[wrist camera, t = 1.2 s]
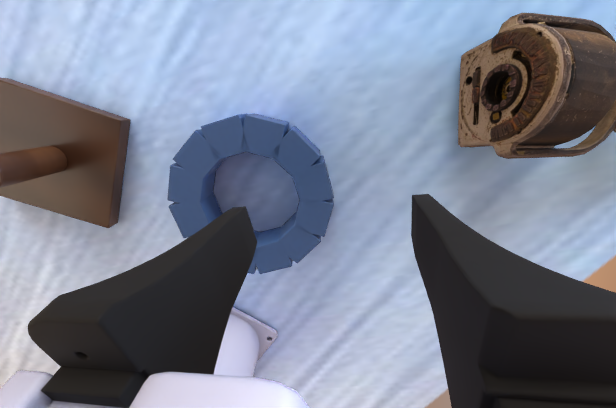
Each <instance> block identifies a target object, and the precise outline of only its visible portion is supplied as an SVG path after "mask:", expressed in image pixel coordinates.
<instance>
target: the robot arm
mask: <svg viewBox="0 0 616 408" xmlns="http://www.w3.org/2000/svg"><path fill="white" fill-rule="evenodd" d="M411 236H412V242H413V248H414V253H415V257H416V261H417V264H418V267H419V270H420V273H421V276H422V279H423V282H424V285H425V288H426V291H427V294H428V297H429V300H430V304H431V307H432V311H433V314H434V319H435V324H436V328H437V333H438V338H439V343H440V348H441V353H442V358H443V363H444V368H445V373H446V379H447V384H448V389H449V395H450V400H451V406H452V408H616V293H614V292H611V291H608V290H605V289H602V288H599V287H595V286H593V285H590V284H587V283H584V282H581V281H578V280H575V279H572V278H570V277H567V276H565V275H562V274H559V273H557V272H554V271H552V270H549V269H547V268H544V267H542V266H540V265H537V264H535V263H533V262H531V261H529V260H526V259H524V258H522V257H520V256H518V255H516V254H514V253H512V252H510V251H508V250H506V249H504V248H502V247H501V246H499V245H497V244H495V243H494V242H492V241H490V240H488V239H487V238H485V237H483V236H482V235H480V234H479V233H477V232H476V231H474V230H473V229H471V228H470V227H468V226H467V225H466V224H464V223H463V222H462V221H460V220H459V219H458V218H456V217H455V216H454V215H452V214H451V213H450V212H449V211H448V210H446V209H445V208H444V207H443V206H442V205H441V204H439V203H438V202H437V201H436V200H435V199H434V198H433V197H431V196H430V195H429V194H422V195H412V229H411ZM256 245H257V239H256V236H255V233H254V230H253V227H252V224H251V221H250V218H249V215H248V212H247V209H246V207H234V208H232V209H230V210H228V211H227V212H225V213H224V214H222V215H221V216H219V217H218V218H216V219H215V220H214V221H212V222H211V223H209V224H208V225H207V226H205V227H204V228H202V229H201V230H199V231H198V232H197V233H195V234H193V235H192V236H190V237H189V238H187V239H186V240H184V241H183V242H181V243H180V244H178V245H177V246H175V247H173V248H172V249H170V250H168V251H166V252H165V253H163V254H161V255H159V256H157V257H155V258H154V259H152V260H150V261H147V262H145V263H143V264H141V265H139V266H137V267H135V268H133V269H131V270H128V271H126V272H124V273H121V274H119V275H117V276H114V277H112V278H109V279H106V280H104V281H101V282H98V283H96V284H93V285H90V286H87V287H84V288H81V289H78V290H75V291H72V292H69V293H66V294H62V295H60V296H58V297H57V298H55V299H54V300H53V301H52V302H51V303H50V304H49V305H48V306H46V307H45V308H44V309H43V310H42V311H41V312H40V313H39V314H38V315H37V316H35V317H34V318H33V319H32V320H31V321H30V323H29V324H28V333H29V335H30V337H31V339H32V340H33V341H34V342H35V343H36V344H37V345H38V346H39V347H40V348H41V349H42V350H43V351H44V352H45V353H46V354H48V355H49V356H50V357H51V358H52V359H53V360H54V361H55V362H56V363H57V364H59V365H60V366H61V367H60V369H59V370H58V371H57V372H56V373H55V374H54V376H53V375H51V374H48V373H45V372H37V371H24V370H20V371H17V372H16V373H15V374H14V375H13V376H12V377H11V378H10V379H9V380H8V381H7V382H6V383H5V384H4V385H3V386H2V387H1V388H0V408H309V406H308V404H307V403H306V402H305V400H304V399H303V398H302V397H301V396H300V394H299V393H298V392H297V391H296V390H294V389H292V388H290V387H288V386H286V385H284V384H282V383H280V382H277V381H272V380H267V379H263V378H257V377H253V374H254V370H255V365H256V362H257V361H258V360H259V359H260V358H261V356H262V355H263V354H264V353H265V351H266V350H267V349H268V348H269V346H270V345H271V344H272V343H273V341H274V340H275V339H276V338H277V334H278V332H277V331H276V330H275V329H273V328H271V327H269V326H267V325H266V324H264V323H262V322H260V321H258V320H256V319H254V318H253V317H251V316H249V315H247V314H245V313H243V312H241V311H240V310H238V309H236V308H234V307H233V305H234V302H235V300H236V298H237V295H238V293H239V291H240V289H241V286H242V284H243V282H244V279H245V277H246V275H247V272H248V270H249V268H250V265H251V263H252V260H253V257H254V253H255V250H256ZM268 337H271V338H268Z"/></svg>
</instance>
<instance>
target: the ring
mask: <svg viewBox="0 0 616 408" xmlns="http://www.w3.org/2000/svg"><path fill="white" fill-rule="evenodd" d="M288 125H289V122H286V121H282V120H278V119H274V118H270V117H266V116H262V115H258V114H241V115H236V116H233V117H230V118H226V119H223V120H220V121H217V122H214V123H211V124H207V125H204V126H201V128H202V129H201V130H196V131H195V132H194V133H193V134H192V135H191V137H190V138H189V139H188V140H187V142H186V143H185V144H184V145H183V147H182V148H181V149H180V150H179V152H178V153H177V154H176V155H175V157H174V158H173V160H174V161H175V162H177V163H175V164H172V165H171V166H170V177H169V189H168V200H169V201H173V202H174V203H173V204H171V205H170V206H169V208H170V211H171V213H172V215H173V217H174V219H175V221H176V223H177V225H178V227H179V229H180V232H181V234H182V236H183V238H186V237H190V236H192V235H193V234H195V233H197V232H198V231H199V230H201V229H202V228H204V227H205V226H207V225H208V224H209V223H211V222H212V221H214V220H215V219H216V218H218V217H219V216H221V215H222V214H223V213H222V212H221V210H220V207H219V205H218V203H217V200H216V198H215V195H214V193H213V189H214V182H215V174H216V170H217V169H218V168H219V166H220V165H221V164H222V163H223V162H224V161H225V159H226V158H227V157H230V156H233V155H237V154H240V153H243V152H248V153H252V154H256V155H260V156H264V157H269V158H273V159H274V160H275V161H276V162H277V163H278V164H279V165H280V166H281V167H282V168H283V169H285V170H286V171H287V172H288V173H289V174H290V175H291V176H292V177H293V180H294V183H295V187H296V190H297V193H298V196H299V199H300V200H299V204H298V208H297V212H296V213H295V214H294V215H293V216H292V217H291V218H290V219H289V220H288V221H287V222H286V223H285V224H284V225H283V226H282V227H279V228H275V229H271V230H267V231H263V232H258V231H254V233H255V236H256V239H257V245H256V250H255V253H254V257H253V260H252V263H251V265H250V268H249V270H248V272H247V273H251V274H254V273H255V270H256V267H257V268H258V271H259V273H260V274H262V273H267V272H271V271H275V270H279V269H283V268H287V267H291V266H292V262H293V261H295V262H296V263H298V262H299V261H300V260H301V259H302V258H304V257H305V256H306V255H307V254H308V253H309V252H310V251H311V250H312V249H313V248H314V247H316V246H317V245H318V244H319V243H320V242H321V236H323V237H324V236H325V233H326V229H327V226H328V222H329V219H330V216H331V212H332V209H333V205H334V203H333V198H334V196H333V191H332V187H331V183H330V179H329V176H328V172H327V168H326V165H325V161H324V157H323V156H320V150H319V149H318V148H317V147H316V146H315V145H314V144H313V143H312V142H311V141H310V140H309V139H308V138H307V137H306V136H305V135H304V134H303V133H302V132H301V131H300V130H299V129H298V128H297V127H295V126H293V127H292V128H291V129H290V130H289V132H288V133H287V130H288Z"/></svg>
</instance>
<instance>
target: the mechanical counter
mask: <svg viewBox="0 0 616 408" xmlns="http://www.w3.org/2000/svg"><path fill="white" fill-rule="evenodd" d="M596 124H597V125H596ZM595 125H596V127H595V128H594V130H593V132H592V133H591V134H590V135H589V136H588V137H587V138H586V139H585V140H584V141H582V142H581V143H579V144H578V145H576V146H574V147H571V148H561V149H556V148H554V146H555V145H559V144H562V143H566V142H568V141H571V140H573V139H576V138H578V137H580V136H582V135H583V134H585V133H586V132H588V131H589V130H591V129H592V128H593V127H594V126H595ZM612 130H613V131H614V132H616V41H615V40H614V38H613V37H612V35H611V34H610V33H609V32H608V31H606V30H605V29H604V28H603V27H602V26H601V25H599V24H597V23H595V22H593V21H591V20H586V19H580V18H571V17H562V16H553V15H544V14H534V13H520V14H518V15H515V16H512V17H511V18H509V19H508V20H507V21H506V22H504V23H503V24H502V26H501V28H500V30H499V32H498V34H496V35H495V36H494V37H493V38H492V39H490V40H488V41H486V42H484V43H483V44H481V45H479V46H477V47H475V48H473V49H471V50H469V51H467V52H466V53H465V54H463V55H462V56H461V65H460V91H459V120H458V145H459V146H460V147H481V146H493V147H494V149H495V152H496V154H497V155H498V156H500V157H503V158H508V159H510V158H542V157H570V156H577V155H582V154H585V153H587V152H589V151H590V150H592V149H594V148H595V147H596V146H598V145H599V144H600V143H601V142H603V141H604V140H605V139H606V138H607V137H608V136H609V134H610V133H611V132H612Z"/></svg>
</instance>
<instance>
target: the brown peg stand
mask: <svg viewBox="0 0 616 408" xmlns="http://www.w3.org/2000/svg"><path fill="white" fill-rule="evenodd" d="M129 128H130V119H127V118H124V117H121V116H118V115H115V114H112V113H109V112H106V111H103V110H100V109H97V108H94V107H91V106H88V105H85V104H83V103H80V102H77V101H74V100H71V99H68V98H65V97H62V96H59V95H56V94H53V93H50V92H47V91H44V90H41V89H38V88H35V87H32V86H29V85H26V84H23V83H20V82H17V81H14V80H11V79H8V78H0V196H3V197H6V198H10V199H13V200H16V201H20V202H23V203H26V204H30V205H33V206H36V207H40V208H43V209H46V210H50V211H53V212H56V213H60V214H63V215H66V216H70V217H73V218H76V219H80V220H83V221H86V222H89V223H93V224H96V225H99V226H103V227H106V228H110V227H112V226H113V225H115V224H117V223H118V217H119V209H120V201H121V193H122V185H123V177H124V169H125V160H126V152H127V144H128V136H129Z"/></svg>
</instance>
